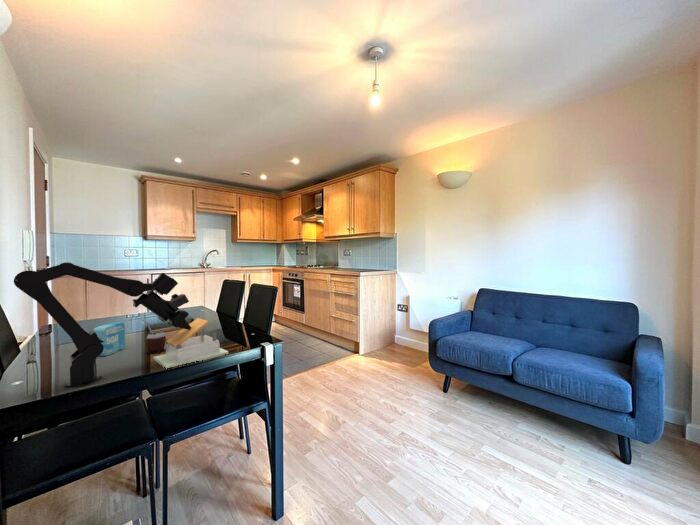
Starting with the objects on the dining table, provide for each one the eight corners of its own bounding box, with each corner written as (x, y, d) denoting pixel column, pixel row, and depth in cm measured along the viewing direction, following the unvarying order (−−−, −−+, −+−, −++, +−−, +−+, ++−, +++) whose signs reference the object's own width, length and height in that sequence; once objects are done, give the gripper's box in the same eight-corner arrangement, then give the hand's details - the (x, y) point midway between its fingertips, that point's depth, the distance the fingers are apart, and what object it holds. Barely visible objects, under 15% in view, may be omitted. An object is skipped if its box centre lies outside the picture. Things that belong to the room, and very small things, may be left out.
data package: (105, 356, 120) (104, 327, 120) (93, 357, 120) (92, 328, 120) (125, 348, 132) (124, 321, 132) (115, 348, 132) (114, 321, 132)
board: (166, 369, 103) (166, 366, 103) (153, 359, 115) (153, 356, 115) (228, 353, 119) (228, 351, 119) (211, 346, 131) (211, 343, 131)
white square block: (178, 363, 107) (177, 341, 107) (166, 354, 117) (165, 334, 117) (219, 352, 118) (219, 332, 118) (205, 345, 128) (204, 327, 128)
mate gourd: (169, 351, 126) (168, 316, 125) (148, 356, 119) (147, 319, 119) (161, 348, 130) (159, 314, 130) (140, 353, 123) (139, 318, 123)
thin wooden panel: (176, 347, 108) (175, 346, 108) (167, 342, 116) (166, 341, 116) (209, 322, 117) (208, 320, 117) (199, 319, 124) (198, 317, 124)
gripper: (181, 289, 106) (213, 314, 114) (166, 286, 119) (196, 310, 127) (157, 314, 101) (192, 339, 109) (144, 309, 114) (176, 331, 122)
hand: (190, 328), depth 117 cm, fingers closed, pressing on thin wooden panel
